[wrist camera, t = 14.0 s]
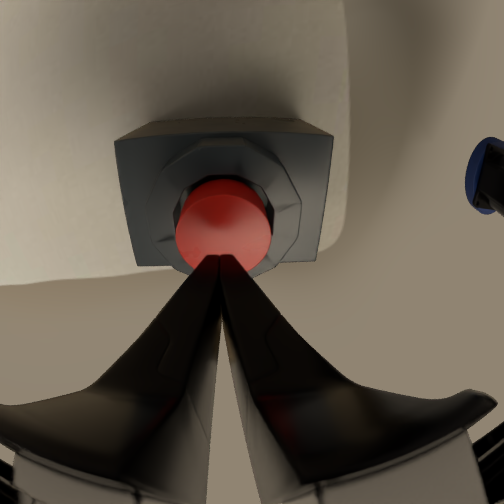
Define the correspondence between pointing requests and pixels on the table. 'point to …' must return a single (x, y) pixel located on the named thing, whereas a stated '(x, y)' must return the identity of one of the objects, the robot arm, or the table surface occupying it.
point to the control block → (225, 167)
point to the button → (223, 224)
